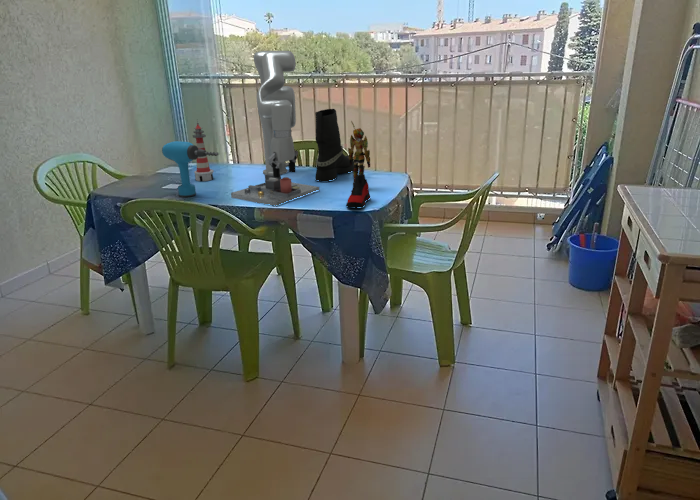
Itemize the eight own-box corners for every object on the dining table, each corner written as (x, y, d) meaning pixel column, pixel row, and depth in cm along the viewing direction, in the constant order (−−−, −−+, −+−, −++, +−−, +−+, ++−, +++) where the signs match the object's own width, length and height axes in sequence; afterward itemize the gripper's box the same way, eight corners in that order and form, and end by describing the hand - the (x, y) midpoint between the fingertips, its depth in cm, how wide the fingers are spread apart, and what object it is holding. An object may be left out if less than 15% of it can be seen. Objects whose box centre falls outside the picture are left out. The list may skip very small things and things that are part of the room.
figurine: (373, 188, 229) (373, 119, 218) (366, 192, 223) (366, 122, 212) (352, 185, 234) (351, 118, 223) (345, 189, 228) (343, 120, 217)
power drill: (229, 196, 220) (223, 142, 212) (216, 201, 213) (210, 145, 204) (176, 191, 230) (169, 139, 222) (163, 196, 223) (155, 142, 214)
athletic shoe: (342, 211, 198) (341, 181, 193) (354, 197, 216) (354, 169, 212) (361, 212, 196) (361, 182, 192) (372, 198, 215) (372, 170, 210)
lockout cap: (294, 192, 216) (293, 177, 214) (286, 195, 213) (285, 179, 210) (286, 191, 219) (285, 176, 216) (278, 193, 215) (277, 178, 213)
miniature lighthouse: (217, 177, 255) (210, 115, 244) (210, 181, 246) (203, 117, 235) (199, 177, 256) (191, 115, 245) (192, 181, 247) (183, 118, 236)
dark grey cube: (273, 182, 234) (272, 170, 233) (281, 183, 232) (280, 172, 230) (265, 184, 231) (264, 173, 229) (273, 185, 228) (272, 174, 226)
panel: (276, 183, 240) (275, 176, 239) (319, 191, 226) (319, 183, 225) (231, 197, 219) (230, 189, 218) (275, 206, 205) (275, 198, 203)
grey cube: (273, 188, 224) (273, 176, 222) (282, 189, 221) (281, 177, 219) (265, 190, 220) (264, 178, 218) (274, 192, 218) (273, 180, 216)
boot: (360, 170, 267) (362, 105, 255) (328, 185, 238) (329, 112, 225) (339, 167, 272) (340, 103, 260) (306, 181, 243) (305, 110, 230)
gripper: (289, 129, 218) (291, 169, 224) (260, 136, 205) (263, 177, 212) (302, 131, 214) (304, 171, 220) (274, 138, 201) (277, 180, 207)
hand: (284, 174), depth 216 cm, fingers open, 9 cm apart
